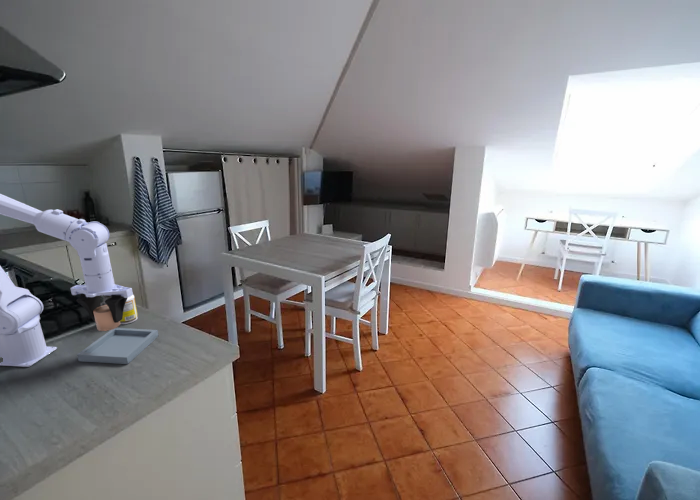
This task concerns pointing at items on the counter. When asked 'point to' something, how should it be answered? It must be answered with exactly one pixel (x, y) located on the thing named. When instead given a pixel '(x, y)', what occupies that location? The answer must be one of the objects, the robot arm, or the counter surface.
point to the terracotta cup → (104, 319)
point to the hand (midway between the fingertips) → (108, 320)
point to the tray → (118, 346)
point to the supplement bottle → (129, 311)
